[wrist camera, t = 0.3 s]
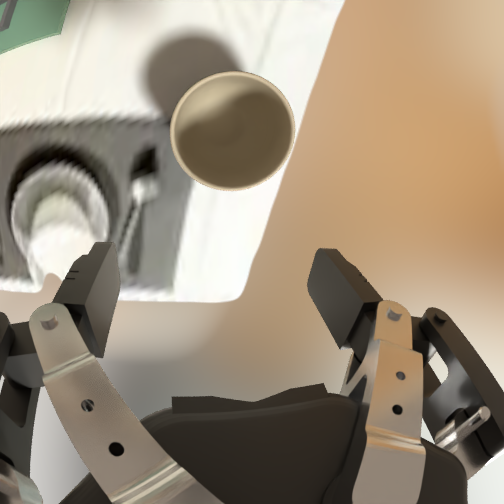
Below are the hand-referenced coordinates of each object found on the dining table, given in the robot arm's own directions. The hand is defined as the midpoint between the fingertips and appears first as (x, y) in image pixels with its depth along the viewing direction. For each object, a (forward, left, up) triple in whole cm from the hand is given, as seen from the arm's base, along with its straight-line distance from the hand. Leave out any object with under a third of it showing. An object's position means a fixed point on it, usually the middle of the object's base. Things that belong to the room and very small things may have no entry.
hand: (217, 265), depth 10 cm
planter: (-4, +3, -29) cm, 29 cm away
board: (-27, -33, -29) cm, 51 cm away
